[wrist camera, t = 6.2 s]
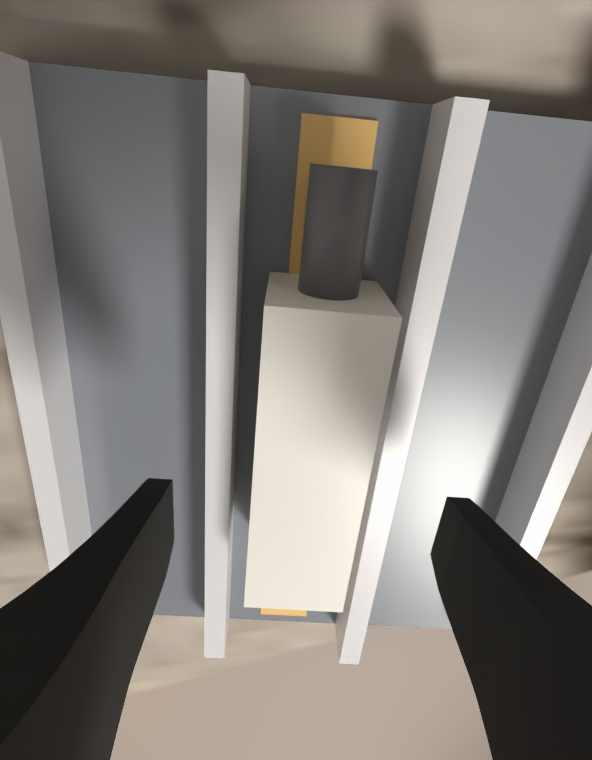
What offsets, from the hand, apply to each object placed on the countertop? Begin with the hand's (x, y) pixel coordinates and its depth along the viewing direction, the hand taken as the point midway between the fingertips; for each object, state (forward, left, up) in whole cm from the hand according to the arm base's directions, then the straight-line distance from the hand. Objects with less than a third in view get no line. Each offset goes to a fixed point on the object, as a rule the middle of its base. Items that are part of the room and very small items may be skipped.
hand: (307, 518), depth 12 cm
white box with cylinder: (+2, 0, -4) cm, 5 cm away
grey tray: (0, 0, -5) cm, 5 cm away
